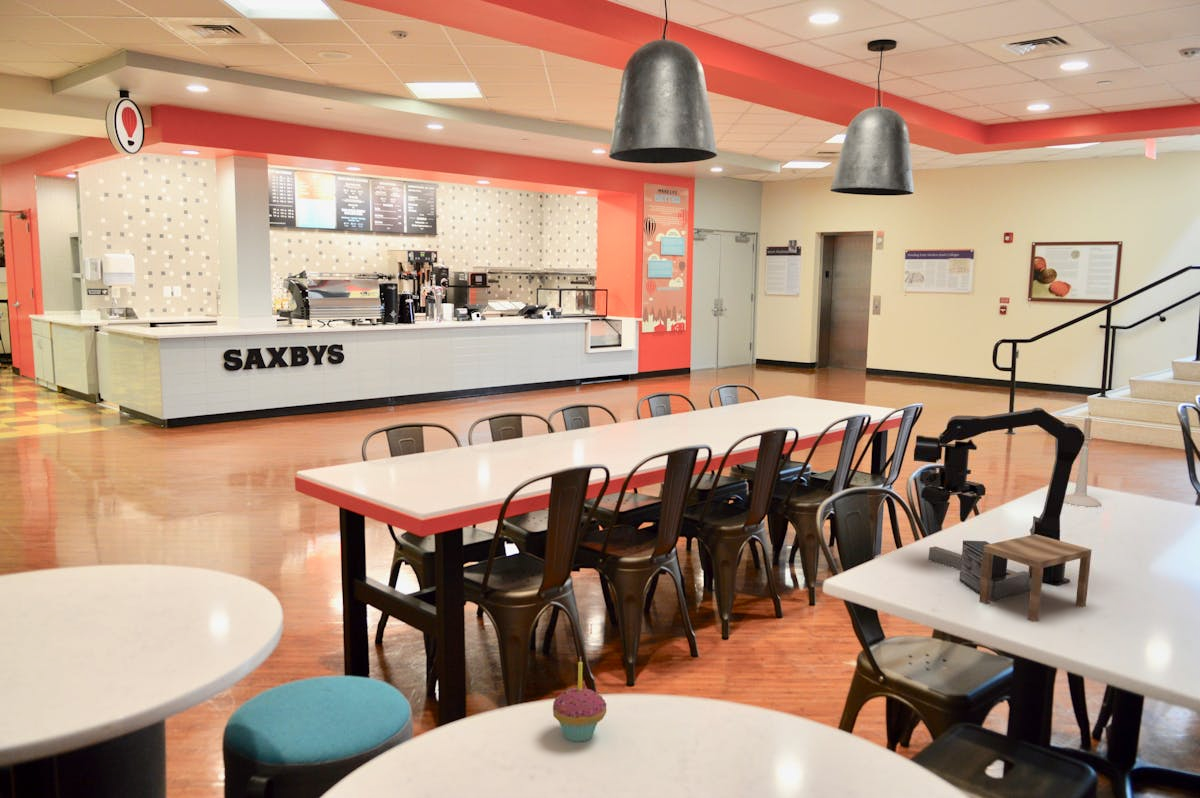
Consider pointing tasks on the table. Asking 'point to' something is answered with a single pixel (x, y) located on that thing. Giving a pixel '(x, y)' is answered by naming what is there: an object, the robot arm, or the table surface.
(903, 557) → the table surface
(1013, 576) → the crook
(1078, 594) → the small wooden table
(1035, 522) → the robot arm
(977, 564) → the small box
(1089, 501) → the candlestick
